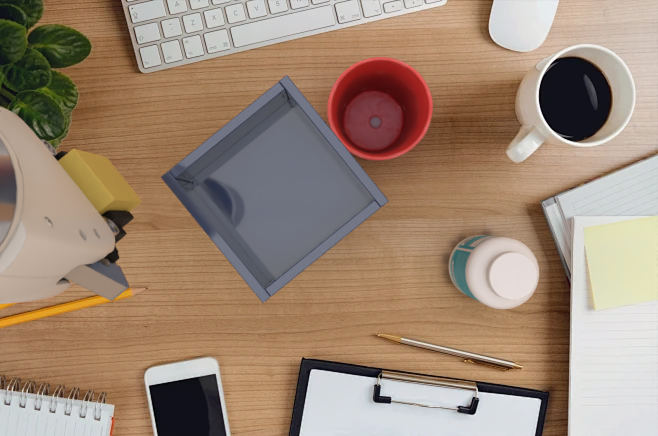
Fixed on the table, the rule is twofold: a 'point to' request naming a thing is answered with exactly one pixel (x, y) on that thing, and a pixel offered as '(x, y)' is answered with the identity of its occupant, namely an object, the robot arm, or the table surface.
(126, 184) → the sponge
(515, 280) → the pill bottle
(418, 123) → the flower pot
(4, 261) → the robot arm
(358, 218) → the open box
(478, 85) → the table surface
